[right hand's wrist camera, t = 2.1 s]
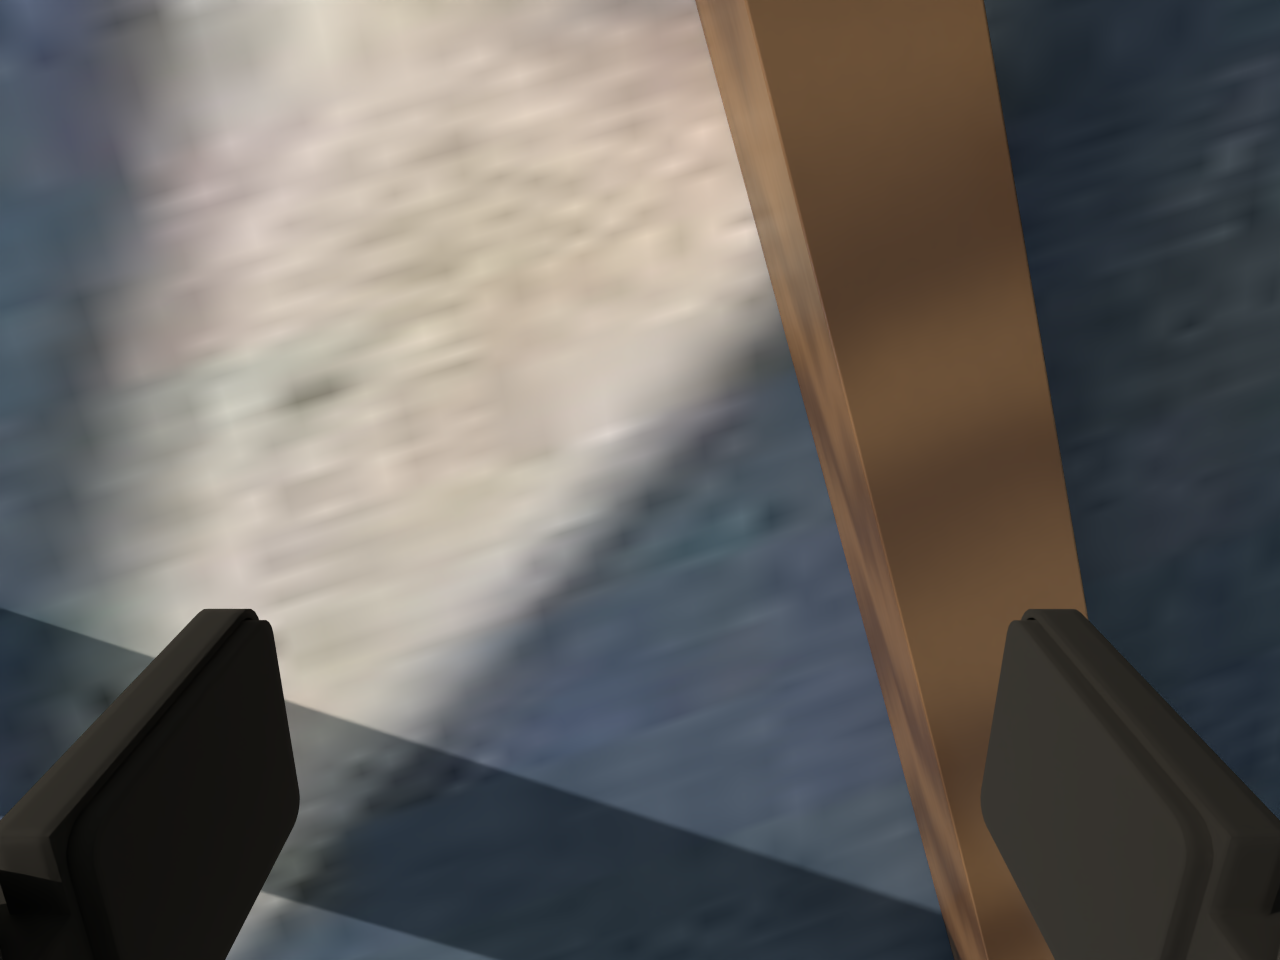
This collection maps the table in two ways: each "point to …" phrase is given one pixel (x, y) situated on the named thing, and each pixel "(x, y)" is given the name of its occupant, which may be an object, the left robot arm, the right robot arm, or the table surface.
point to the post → (912, 377)
